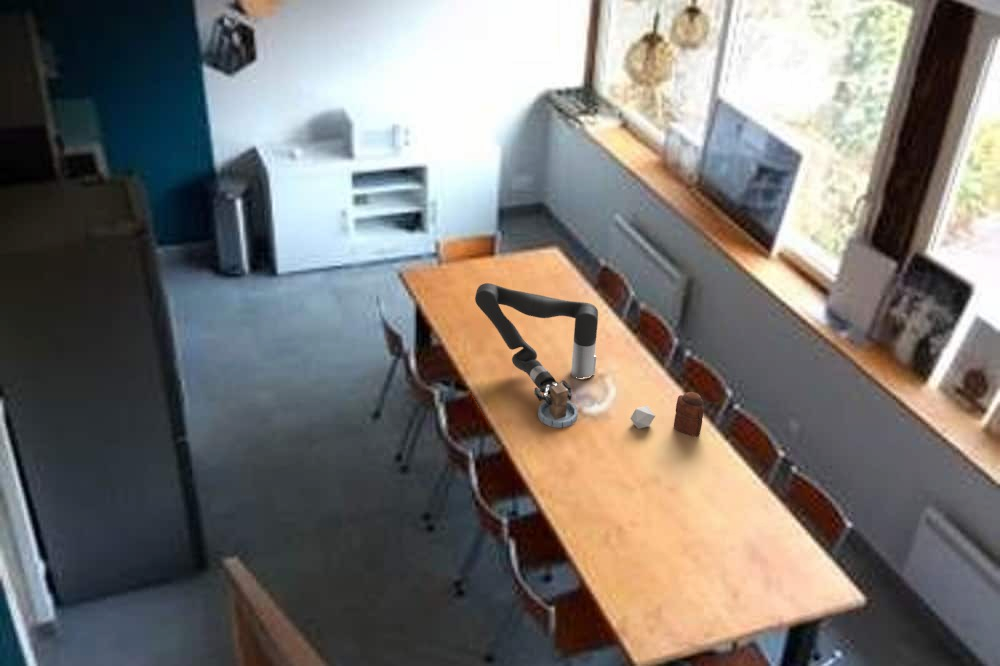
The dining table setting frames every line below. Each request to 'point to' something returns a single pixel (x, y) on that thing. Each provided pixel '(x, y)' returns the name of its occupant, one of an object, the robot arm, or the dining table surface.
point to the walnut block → (558, 401)
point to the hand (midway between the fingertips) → (561, 400)
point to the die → (642, 417)
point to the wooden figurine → (689, 414)
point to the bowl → (560, 422)
